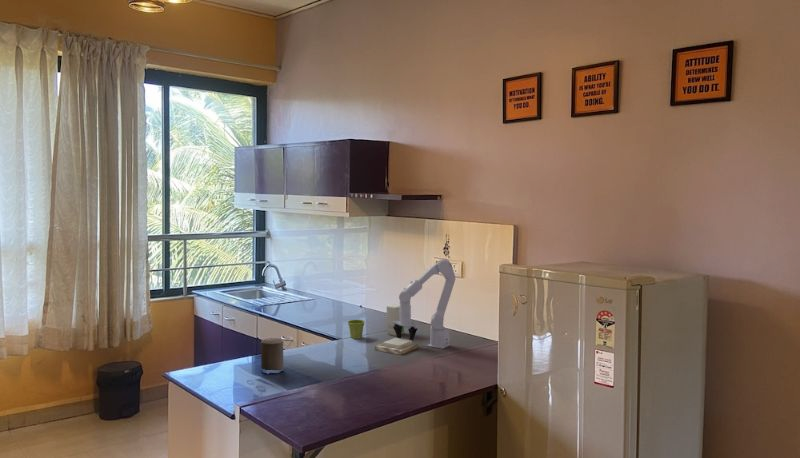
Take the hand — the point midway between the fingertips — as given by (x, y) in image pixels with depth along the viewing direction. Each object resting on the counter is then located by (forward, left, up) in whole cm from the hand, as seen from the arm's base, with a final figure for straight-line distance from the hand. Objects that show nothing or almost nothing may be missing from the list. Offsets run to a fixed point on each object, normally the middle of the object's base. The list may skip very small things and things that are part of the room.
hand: (405, 340), depth 301 cm
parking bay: (0, +7, -2) cm, 8 cm away
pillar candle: (+25, +67, -3) cm, 71 cm away
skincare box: (+18, -16, -3) cm, 24 cm away
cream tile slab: (0, +7, -2) cm, 7 cm away
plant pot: (+31, +2, -3) cm, 31 cm away
